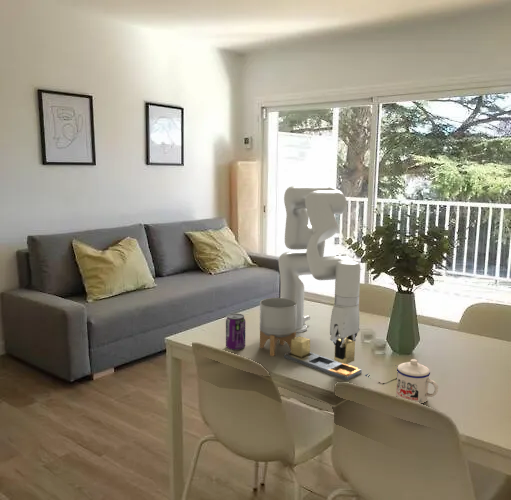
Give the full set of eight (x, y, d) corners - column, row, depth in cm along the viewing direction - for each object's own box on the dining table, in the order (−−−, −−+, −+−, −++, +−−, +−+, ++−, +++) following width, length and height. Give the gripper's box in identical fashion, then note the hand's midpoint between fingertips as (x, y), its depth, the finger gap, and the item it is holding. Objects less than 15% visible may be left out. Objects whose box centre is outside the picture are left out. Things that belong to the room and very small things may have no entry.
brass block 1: (299, 353, 179) (299, 336, 178) (309, 357, 176) (310, 339, 175) (291, 357, 176) (291, 339, 175) (301, 360, 173) (301, 342, 171)
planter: (289, 359, 175) (291, 309, 172) (254, 354, 179) (254, 305, 176) (299, 346, 187) (300, 299, 184) (266, 342, 191) (266, 296, 188)
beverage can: (242, 352, 181) (243, 319, 179) (223, 350, 183) (223, 318, 181) (247, 345, 188) (247, 313, 186) (228, 343, 189) (228, 312, 187)
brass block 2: (342, 356, 166) (343, 337, 164) (354, 360, 162) (355, 341, 161) (334, 360, 162) (335, 341, 161) (346, 364, 159) (346, 344, 158)
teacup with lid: (389, 398, 147) (391, 360, 145) (404, 388, 153) (406, 351, 151) (429, 412, 139) (432, 372, 137) (443, 401, 145) (446, 362, 143)
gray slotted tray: (298, 352, 181) (298, 347, 181) (361, 374, 163) (361, 369, 163) (283, 358, 176) (283, 353, 175) (346, 381, 158) (347, 376, 157)
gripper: (352, 293, 168) (349, 346, 171) (320, 303, 156) (318, 359, 159) (371, 297, 162) (369, 352, 166) (340, 308, 151) (338, 366, 154)
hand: (344, 355), depth 162 cm, fingers closed on brass block 2, 4 cm apart
